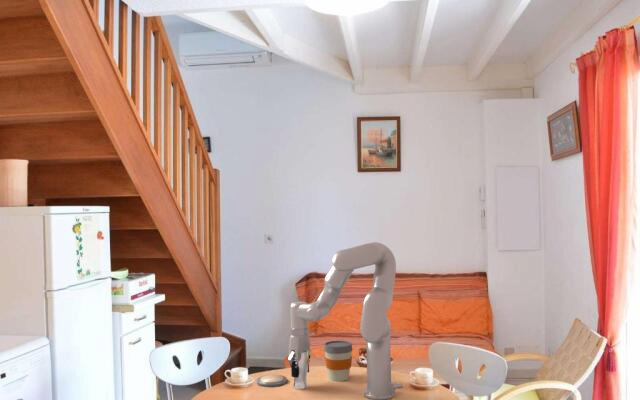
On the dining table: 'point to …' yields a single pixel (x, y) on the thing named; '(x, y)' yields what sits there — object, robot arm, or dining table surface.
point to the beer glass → (302, 372)
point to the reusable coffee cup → (338, 359)
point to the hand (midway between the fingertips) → (300, 374)
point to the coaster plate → (271, 380)
